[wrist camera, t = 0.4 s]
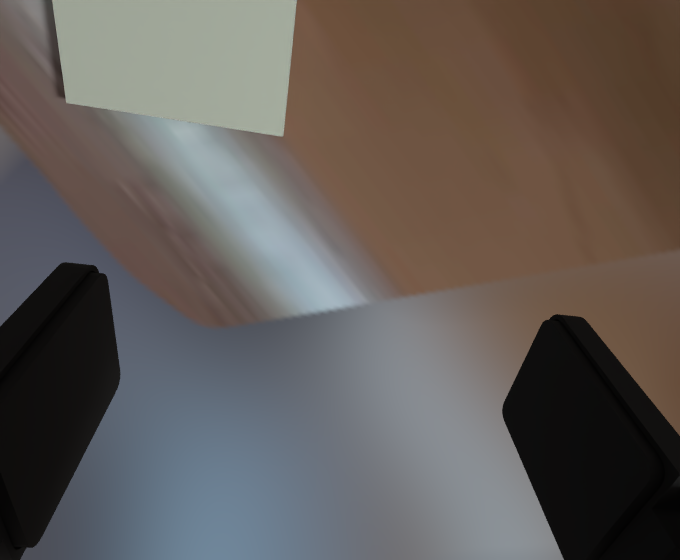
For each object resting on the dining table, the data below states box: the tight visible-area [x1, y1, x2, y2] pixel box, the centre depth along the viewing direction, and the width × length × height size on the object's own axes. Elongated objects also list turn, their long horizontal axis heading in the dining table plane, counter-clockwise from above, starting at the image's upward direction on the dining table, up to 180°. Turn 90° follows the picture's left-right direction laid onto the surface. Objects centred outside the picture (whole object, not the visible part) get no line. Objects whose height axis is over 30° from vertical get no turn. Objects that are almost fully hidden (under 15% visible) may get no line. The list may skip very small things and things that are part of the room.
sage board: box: [52, 0, 297, 137], centre depth 32 cm, size 13×16×1 cm
